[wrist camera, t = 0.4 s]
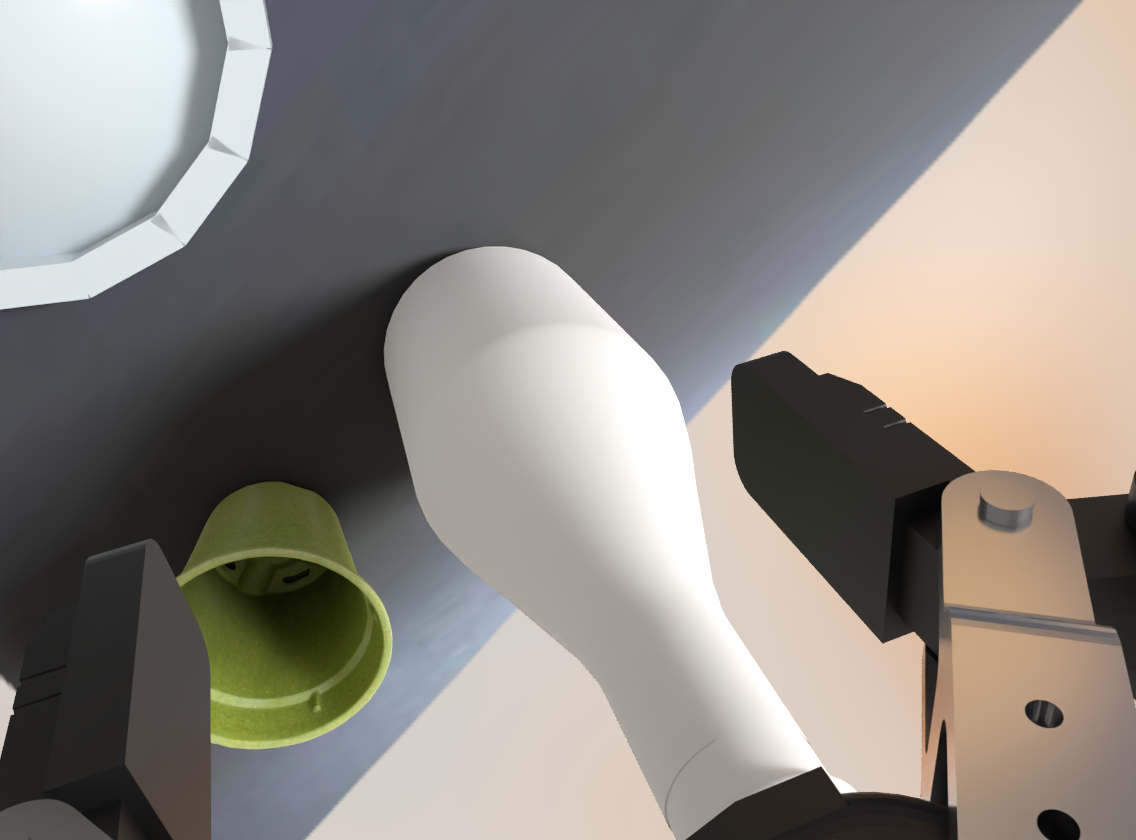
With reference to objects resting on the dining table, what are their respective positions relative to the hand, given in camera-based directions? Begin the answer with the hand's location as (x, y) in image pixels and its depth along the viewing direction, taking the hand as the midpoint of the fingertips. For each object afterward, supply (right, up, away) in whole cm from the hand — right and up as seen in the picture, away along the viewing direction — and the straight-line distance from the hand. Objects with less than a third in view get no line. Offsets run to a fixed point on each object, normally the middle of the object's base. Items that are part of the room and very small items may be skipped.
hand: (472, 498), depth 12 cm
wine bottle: (-2, +5, +29) cm, 29 cm away
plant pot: (-13, -4, +30) cm, 33 cm away
